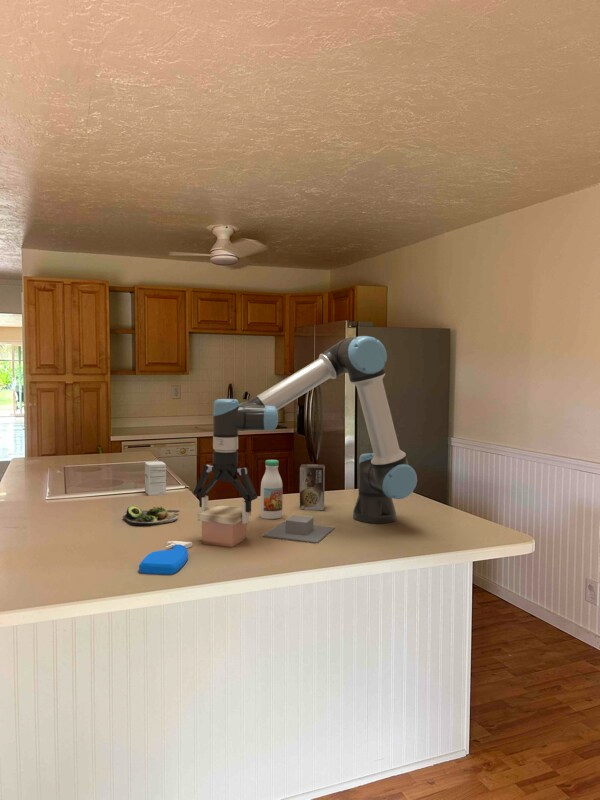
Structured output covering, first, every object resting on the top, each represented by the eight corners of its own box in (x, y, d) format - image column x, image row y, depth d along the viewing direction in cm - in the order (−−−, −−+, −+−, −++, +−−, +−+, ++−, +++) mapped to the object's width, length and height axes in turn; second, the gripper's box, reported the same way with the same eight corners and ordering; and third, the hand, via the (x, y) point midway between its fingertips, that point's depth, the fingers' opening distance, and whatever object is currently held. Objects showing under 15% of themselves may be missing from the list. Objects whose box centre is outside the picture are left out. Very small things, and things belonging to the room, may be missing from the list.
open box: (246, 538, 185) (246, 515, 185) (232, 547, 176) (232, 523, 175) (217, 534, 188) (217, 512, 188) (201, 543, 179) (202, 519, 179)
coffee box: (324, 506, 228) (325, 464, 227) (323, 510, 222) (324, 467, 221) (300, 505, 229) (301, 463, 228) (298, 509, 223) (299, 466, 222)
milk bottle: (256, 517, 210) (256, 460, 209) (267, 513, 217) (268, 458, 216) (275, 520, 206) (276, 462, 205) (286, 515, 213) (287, 459, 212)
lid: (251, 515, 185) (251, 508, 185) (234, 524, 174) (234, 517, 174) (216, 511, 189) (216, 505, 189) (197, 520, 178) (197, 513, 178)
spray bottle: (177, 565, 152) (200, 538, 176) (134, 563, 152) (163, 537, 177) (177, 576, 152) (200, 548, 176) (134, 574, 153) (163, 547, 177)
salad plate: (170, 510, 219) (170, 498, 219) (190, 521, 204) (190, 508, 204) (117, 517, 209) (117, 504, 208) (134, 529, 194) (134, 515, 193)
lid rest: (334, 528, 197) (334, 515, 197) (317, 543, 180) (317, 529, 180) (283, 522, 203) (283, 509, 203) (262, 537, 187) (262, 522, 186)
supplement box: (144, 492, 248) (144, 461, 247) (162, 490, 251) (162, 460, 250) (147, 495, 241) (147, 464, 240) (166, 494, 244) (166, 463, 244)
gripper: (182, 449, 181) (182, 518, 182) (258, 454, 173) (257, 527, 174) (195, 446, 188) (194, 513, 189) (268, 451, 180) (267, 521, 181)
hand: (224, 520), depth 182 cm, fingers open, 13 cm apart
